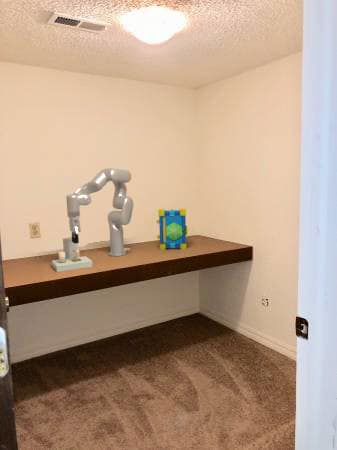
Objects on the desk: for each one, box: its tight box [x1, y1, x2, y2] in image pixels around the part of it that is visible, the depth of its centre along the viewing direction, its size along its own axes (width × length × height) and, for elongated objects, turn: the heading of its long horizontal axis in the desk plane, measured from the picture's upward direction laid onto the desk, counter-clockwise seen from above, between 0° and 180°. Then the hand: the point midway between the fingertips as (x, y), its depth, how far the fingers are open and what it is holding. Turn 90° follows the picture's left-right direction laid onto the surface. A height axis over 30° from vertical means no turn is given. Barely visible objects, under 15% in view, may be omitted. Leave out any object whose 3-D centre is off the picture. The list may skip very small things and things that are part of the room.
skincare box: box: [62, 236, 79, 259], centre depth 252 cm, size 8×6×15 cm
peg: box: [73, 249, 81, 262], centre depth 235 cm, size 4×4×10 cm
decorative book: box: [156, 207, 188, 251], centre depth 277 cm, size 14×23×30 cm, turn 89°
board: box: [51, 251, 93, 273], centre depth 233 cm, size 22×16×10 cm
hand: (75, 242), depth 233 cm, fingers open, 3 cm apart
